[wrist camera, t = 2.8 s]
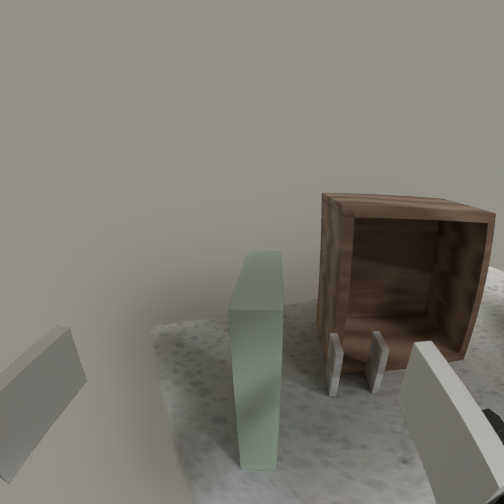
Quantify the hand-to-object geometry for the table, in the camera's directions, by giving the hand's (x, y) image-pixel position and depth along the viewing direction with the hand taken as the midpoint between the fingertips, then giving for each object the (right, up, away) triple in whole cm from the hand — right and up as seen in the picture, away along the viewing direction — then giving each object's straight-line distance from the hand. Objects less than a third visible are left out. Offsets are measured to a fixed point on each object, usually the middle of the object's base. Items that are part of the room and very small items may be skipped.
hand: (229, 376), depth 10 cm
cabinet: (+20, -9, +27) cm, 35 cm away
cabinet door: (+2, -13, +16) cm, 21 cm away
